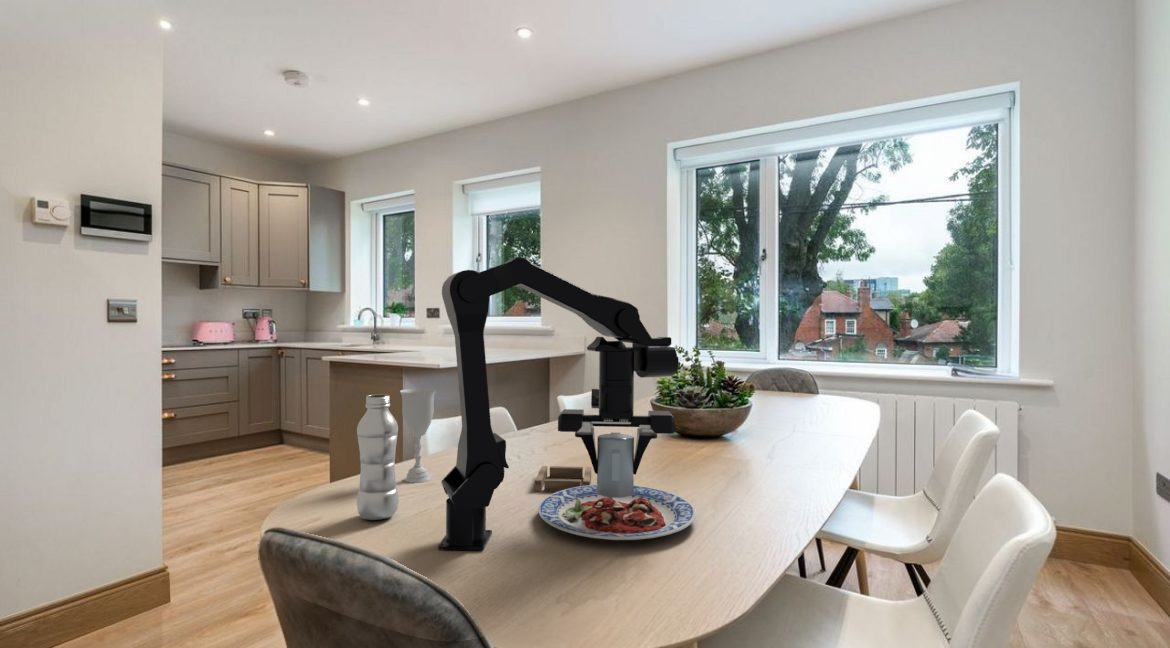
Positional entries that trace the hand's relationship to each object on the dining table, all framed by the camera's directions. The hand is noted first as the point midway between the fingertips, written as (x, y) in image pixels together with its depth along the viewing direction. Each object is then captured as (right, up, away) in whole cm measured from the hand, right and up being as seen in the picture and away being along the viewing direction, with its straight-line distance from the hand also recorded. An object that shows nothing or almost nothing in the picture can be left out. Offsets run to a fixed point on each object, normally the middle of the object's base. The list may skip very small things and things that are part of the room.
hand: (615, 473), depth 92 cm
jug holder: (-9, -7, +19) cm, 23 cm away
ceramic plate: (0, -8, 0) cm, 8 cm away
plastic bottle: (-39, -7, 0) cm, 40 cm away
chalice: (-39, -7, +22) cm, 45 cm away
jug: (0, -3, 0) cm, 3 cm away
